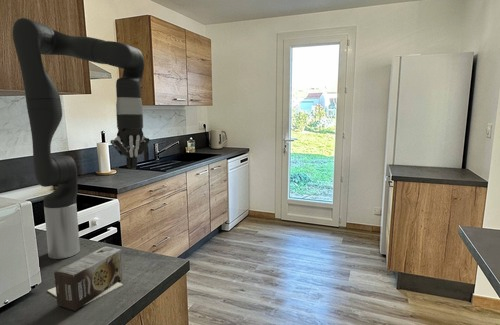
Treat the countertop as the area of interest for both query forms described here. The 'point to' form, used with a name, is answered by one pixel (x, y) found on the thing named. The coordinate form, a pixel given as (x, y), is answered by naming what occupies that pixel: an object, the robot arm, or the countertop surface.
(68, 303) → the coffee box
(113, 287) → the mat
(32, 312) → the countertop surface
